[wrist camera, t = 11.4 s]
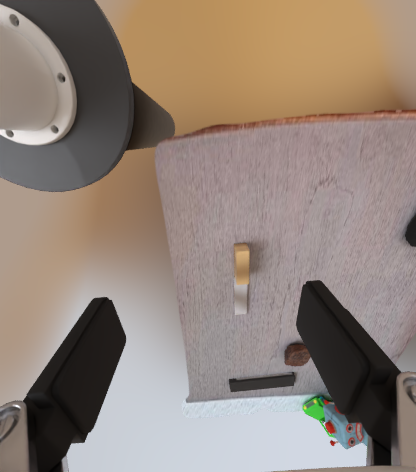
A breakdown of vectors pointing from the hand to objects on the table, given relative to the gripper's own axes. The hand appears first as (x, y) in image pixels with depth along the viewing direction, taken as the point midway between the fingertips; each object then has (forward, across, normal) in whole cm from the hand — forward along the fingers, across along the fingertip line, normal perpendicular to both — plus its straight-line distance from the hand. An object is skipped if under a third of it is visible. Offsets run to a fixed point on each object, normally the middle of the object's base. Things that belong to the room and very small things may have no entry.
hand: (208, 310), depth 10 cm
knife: (+23, -6, +18) cm, 30 cm away
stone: (+24, -19, +40) cm, 50 cm away
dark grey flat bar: (+23, -11, +50) cm, 56 cm away
